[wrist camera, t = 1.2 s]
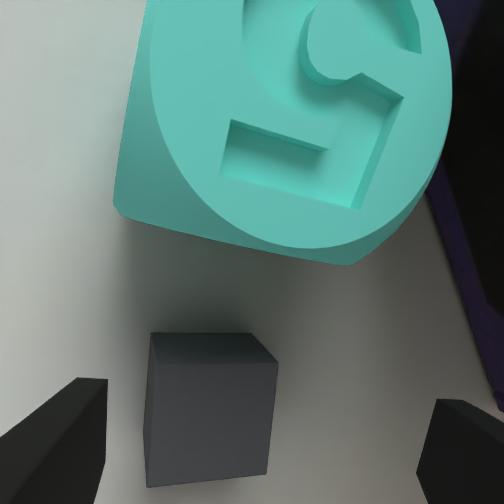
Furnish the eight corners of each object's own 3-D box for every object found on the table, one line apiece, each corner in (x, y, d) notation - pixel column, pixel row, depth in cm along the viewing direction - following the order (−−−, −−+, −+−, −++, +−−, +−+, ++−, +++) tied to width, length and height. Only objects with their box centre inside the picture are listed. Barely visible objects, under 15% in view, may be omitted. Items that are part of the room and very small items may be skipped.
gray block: (242, 426, 19) (266, 474, 15) (142, 432, 17) (146, 488, 14) (251, 332, 18) (279, 362, 15) (150, 332, 17) (156, 365, 13)
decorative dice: (117, 209, 16) (103, 219, 8) (157, 5, 15) (183, -187, 8) (297, 247, 18) (415, 282, 11) (337, 73, 18) (492, -21, 10)
